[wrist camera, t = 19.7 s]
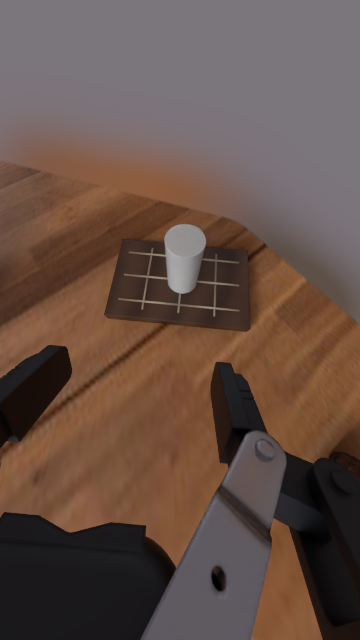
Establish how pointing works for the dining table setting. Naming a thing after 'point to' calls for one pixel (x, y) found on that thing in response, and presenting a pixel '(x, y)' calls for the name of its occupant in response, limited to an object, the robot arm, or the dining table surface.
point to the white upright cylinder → (184, 256)
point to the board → (175, 308)
